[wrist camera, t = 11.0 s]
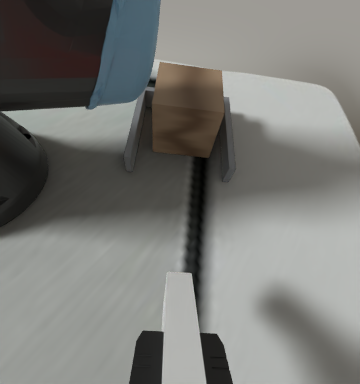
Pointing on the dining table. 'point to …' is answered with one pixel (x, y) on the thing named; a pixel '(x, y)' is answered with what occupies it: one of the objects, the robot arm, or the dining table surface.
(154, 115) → the walnut block
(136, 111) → the grey u-shaped frame
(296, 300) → the dining table surface
